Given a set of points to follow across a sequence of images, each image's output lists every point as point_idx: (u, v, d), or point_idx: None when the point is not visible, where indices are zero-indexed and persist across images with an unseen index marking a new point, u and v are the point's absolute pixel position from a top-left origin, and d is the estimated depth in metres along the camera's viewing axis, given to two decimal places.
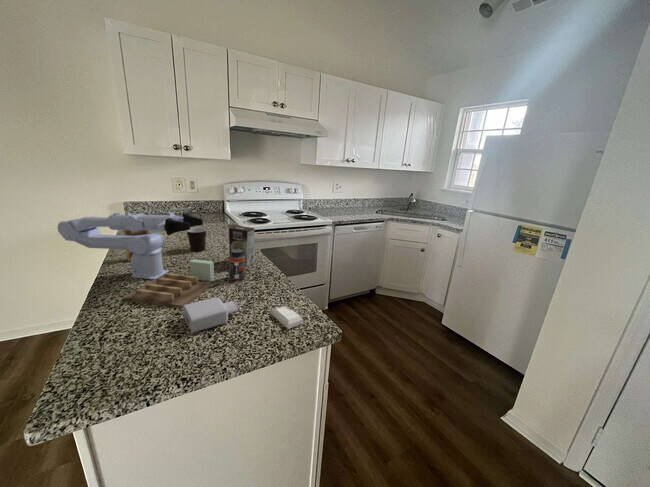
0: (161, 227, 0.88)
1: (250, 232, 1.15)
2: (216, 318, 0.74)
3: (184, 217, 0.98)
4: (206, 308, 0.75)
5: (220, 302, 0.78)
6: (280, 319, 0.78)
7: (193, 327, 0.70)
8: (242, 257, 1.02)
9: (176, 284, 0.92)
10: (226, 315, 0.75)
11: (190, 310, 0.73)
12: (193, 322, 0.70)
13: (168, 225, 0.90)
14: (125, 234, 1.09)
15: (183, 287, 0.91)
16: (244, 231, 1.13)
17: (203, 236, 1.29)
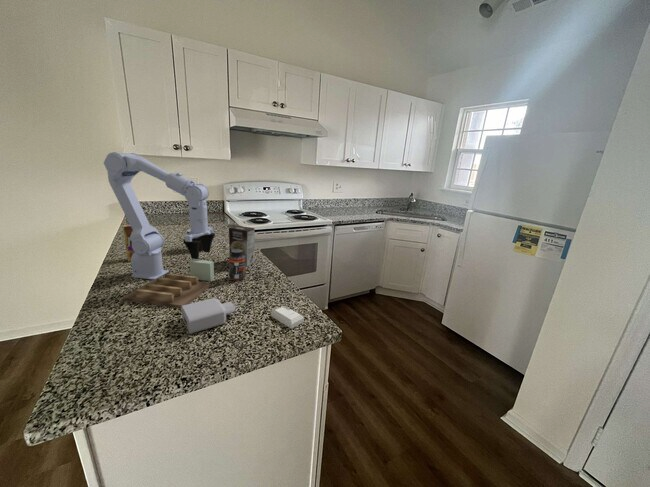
0: (188, 240, 0.91)
1: (250, 232, 1.15)
2: (214, 319, 0.73)
3: (209, 235, 1.01)
4: (204, 309, 0.74)
5: (218, 303, 0.78)
6: (281, 320, 0.78)
7: (191, 328, 0.70)
8: (242, 257, 1.02)
9: (176, 284, 0.92)
10: (224, 316, 0.75)
11: (188, 311, 0.73)
12: (191, 323, 0.69)
13: None
14: (125, 234, 1.09)
15: (183, 287, 0.91)
16: (244, 231, 1.13)
17: None
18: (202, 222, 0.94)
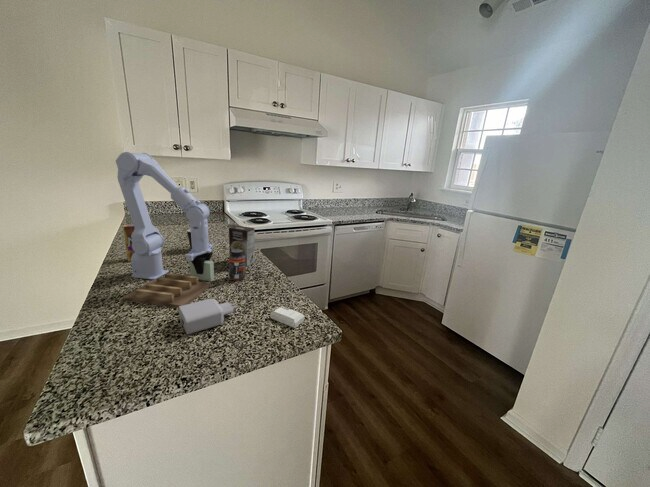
0: (189, 259, 0.93)
1: (250, 232, 1.15)
2: (211, 319, 0.73)
3: (207, 254, 1.01)
4: (201, 309, 0.74)
5: (216, 303, 0.78)
6: (282, 320, 0.78)
7: (188, 329, 0.69)
8: (242, 257, 1.02)
9: (176, 284, 0.92)
10: (221, 317, 0.75)
11: (185, 311, 0.72)
12: (188, 324, 0.69)
13: None
14: (125, 234, 1.09)
15: (183, 287, 0.91)
16: (244, 231, 1.13)
17: None
18: (203, 241, 0.96)
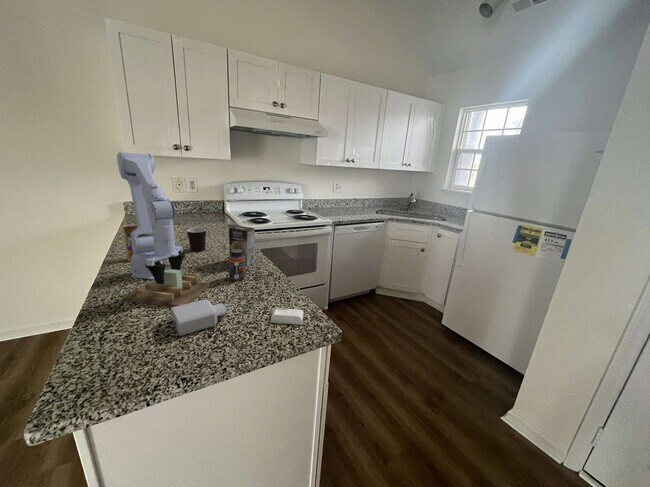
0: (150, 264, 0.80)
1: (250, 232, 1.15)
2: (204, 321, 0.72)
3: (178, 256, 0.90)
4: (194, 310, 0.73)
5: (209, 304, 0.77)
6: (287, 321, 0.78)
7: (180, 330, 0.69)
8: (242, 257, 1.02)
9: None
10: (214, 318, 0.74)
11: (178, 313, 0.71)
12: (180, 325, 0.68)
13: None
14: (125, 234, 1.09)
15: (183, 287, 0.91)
16: (244, 231, 1.13)
17: (203, 236, 1.29)
18: (167, 243, 0.83)
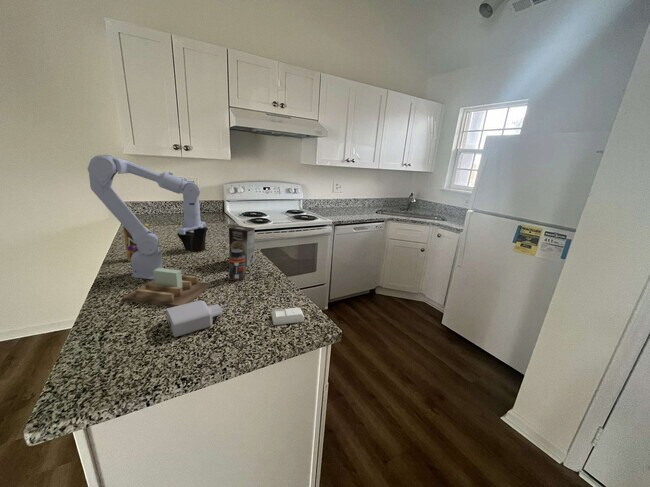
0: (181, 233, 0.98)
1: (250, 232, 1.15)
2: (199, 322, 0.71)
3: (202, 229, 1.08)
4: (189, 311, 0.72)
5: (204, 305, 0.76)
6: (290, 320, 0.78)
7: (175, 331, 0.68)
8: (242, 257, 1.02)
9: None
10: (210, 319, 0.73)
11: (172, 314, 0.71)
12: (175, 326, 0.68)
13: None
14: (125, 234, 1.09)
15: (183, 287, 0.91)
16: (244, 231, 1.13)
17: None
18: (195, 216, 1.02)
